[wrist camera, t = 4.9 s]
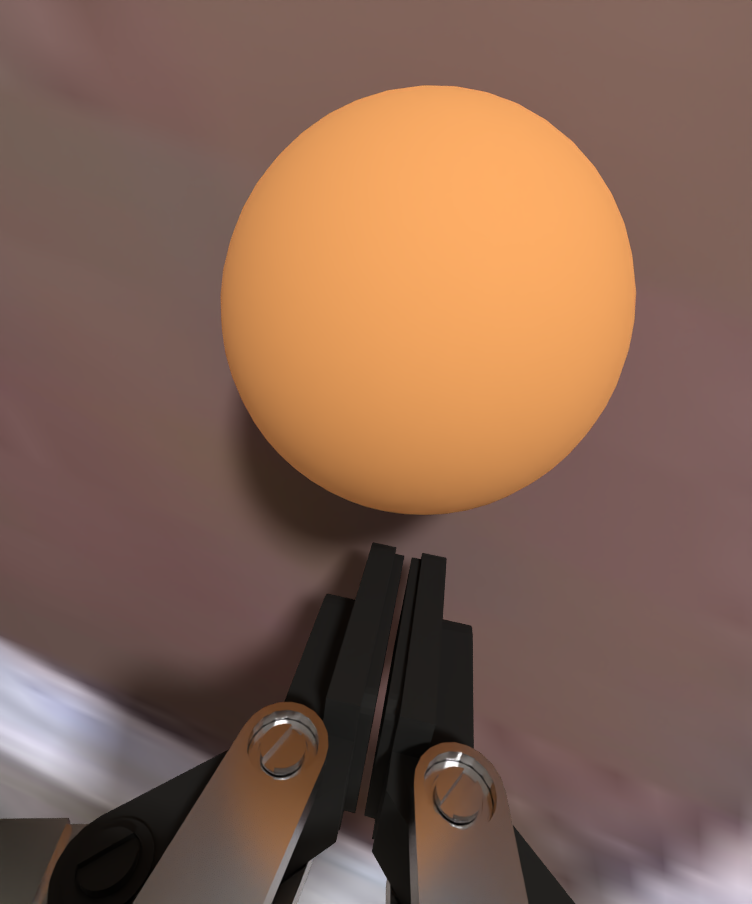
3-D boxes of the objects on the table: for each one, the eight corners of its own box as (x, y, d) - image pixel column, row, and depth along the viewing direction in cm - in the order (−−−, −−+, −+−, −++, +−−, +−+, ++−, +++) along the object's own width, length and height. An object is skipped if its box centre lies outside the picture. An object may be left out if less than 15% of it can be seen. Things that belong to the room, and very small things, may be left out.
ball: (857, 25, 3) (624, 88, 7) (28, 79, 4) (277, 105, 8) (621, 629, 6) (560, 410, 10) (198, 576, 7) (312, 397, 11)
